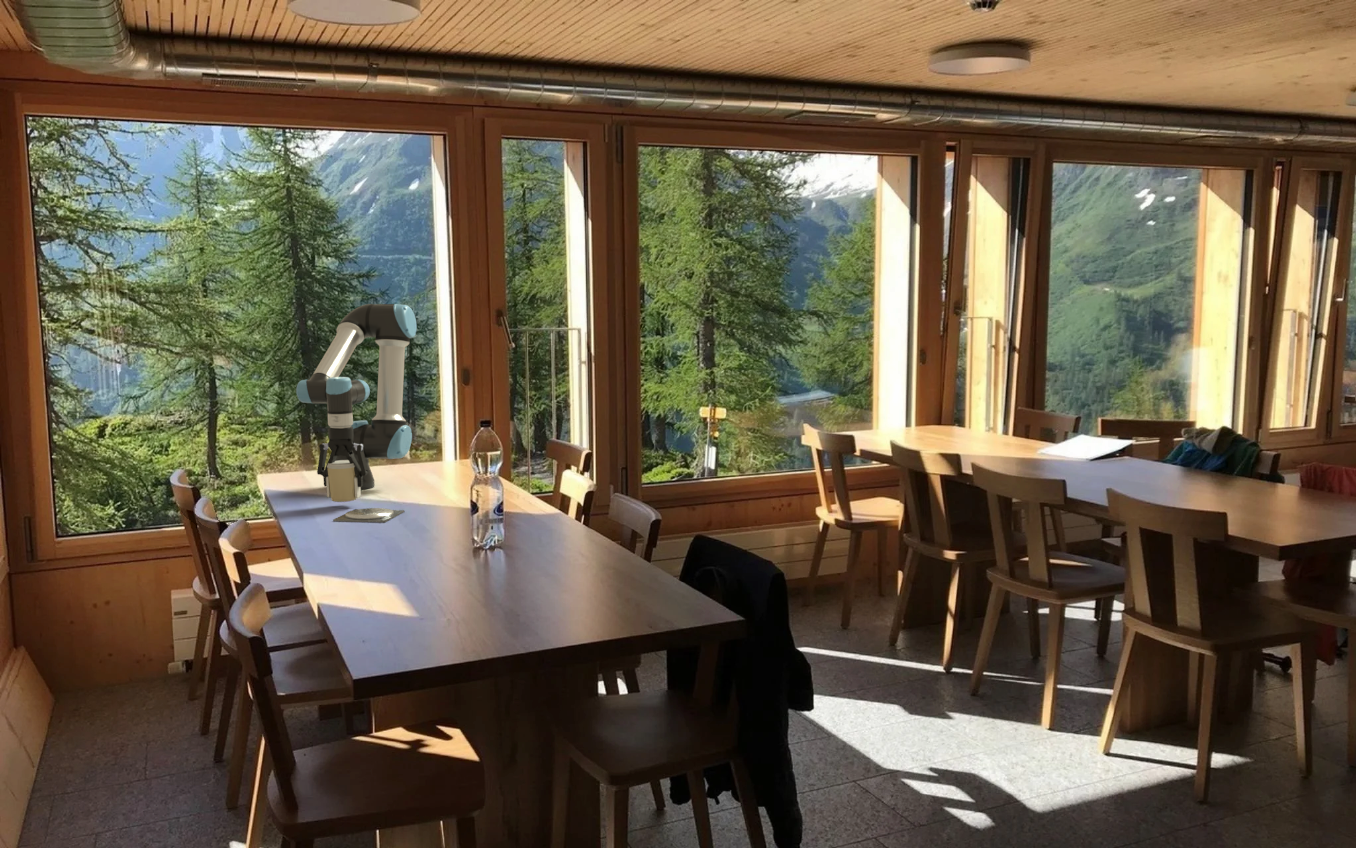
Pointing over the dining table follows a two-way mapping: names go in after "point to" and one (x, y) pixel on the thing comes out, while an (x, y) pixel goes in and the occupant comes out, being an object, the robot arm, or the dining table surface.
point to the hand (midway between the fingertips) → (344, 496)
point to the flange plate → (369, 515)
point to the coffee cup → (341, 481)
